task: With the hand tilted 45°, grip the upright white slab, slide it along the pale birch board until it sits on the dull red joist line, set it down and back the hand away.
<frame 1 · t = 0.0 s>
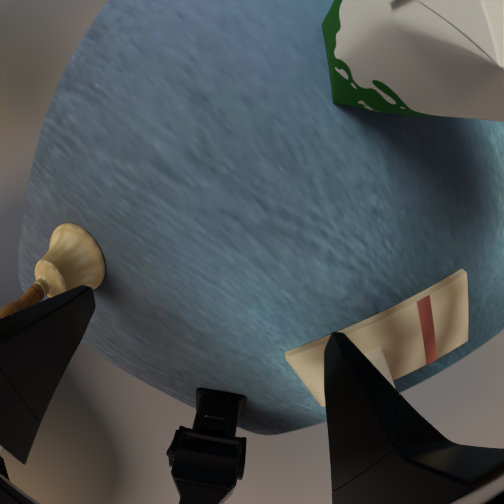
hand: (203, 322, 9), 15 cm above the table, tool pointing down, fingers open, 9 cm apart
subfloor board: (389, 347, 28), on the table
hand bell: (77, 256, 26), on the table
white slab: (360, 366, 28), point 1 cm above the table, touching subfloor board
milk carton: (368, 65, 17), on the table
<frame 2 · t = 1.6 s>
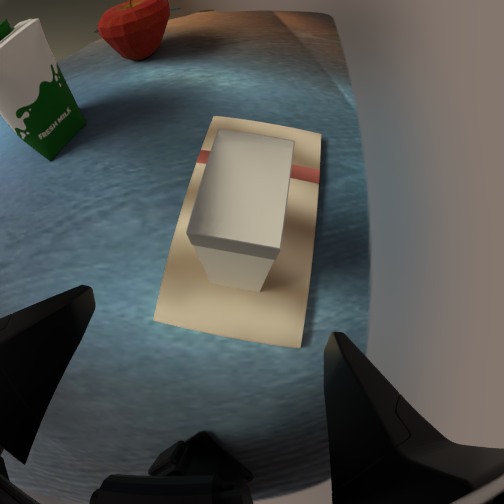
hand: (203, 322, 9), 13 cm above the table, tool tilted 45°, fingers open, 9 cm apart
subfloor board: (249, 214, 25), on the table
apple: (142, 55, 34), on the table
white slab: (241, 252, 23), point 1 cm above the table, touching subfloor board
milk carton: (58, 135, 28), on the table
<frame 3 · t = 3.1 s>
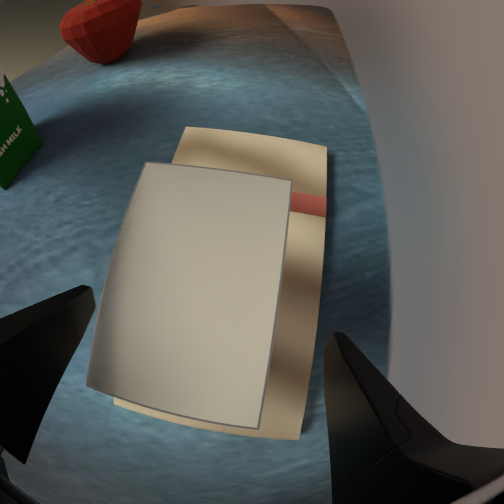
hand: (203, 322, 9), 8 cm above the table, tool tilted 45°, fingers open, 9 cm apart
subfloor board: (231, 264, 19), on the table
apple: (113, 58, 28), on the table
white slab: (219, 322, 16), point 1 cm above the table, touching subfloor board
milk carton: (15, 158, 22), on the table
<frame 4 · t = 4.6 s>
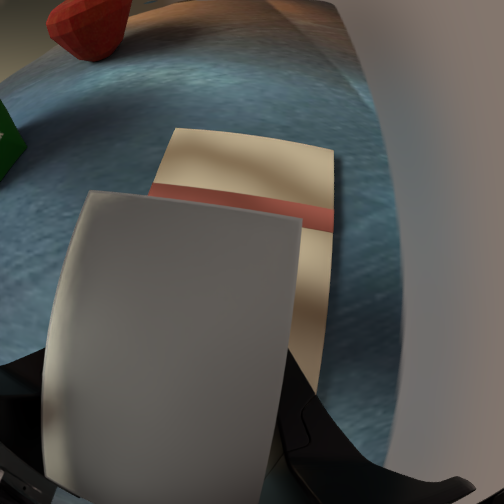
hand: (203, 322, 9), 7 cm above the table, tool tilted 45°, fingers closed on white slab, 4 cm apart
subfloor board: (224, 287, 16), on the table
apple: (103, 55, 25), on the table
white slab: (211, 355, 14), point 1 cm above the table, touching gripper, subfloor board
milk carton: (0, 163, 19), on the table
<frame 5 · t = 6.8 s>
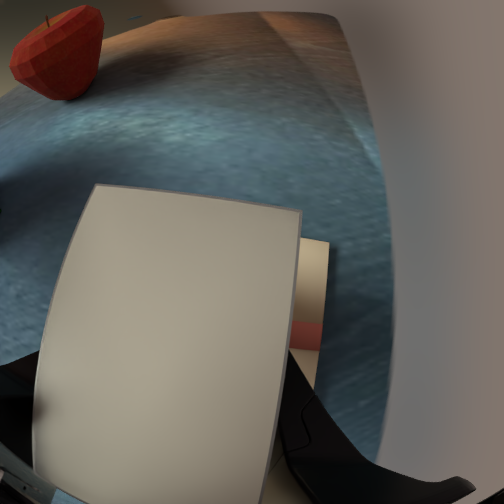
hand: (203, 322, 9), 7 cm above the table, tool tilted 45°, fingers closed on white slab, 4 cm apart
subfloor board: (206, 402, 15), on the table
apple: (77, 91, 24), on the table
white slab: (209, 366, 14), point 2 cm above the table, touching gripper
when the fingers open (7 cm above the table, at t = 9.2 s): white slab stays where it is, resting on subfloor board.
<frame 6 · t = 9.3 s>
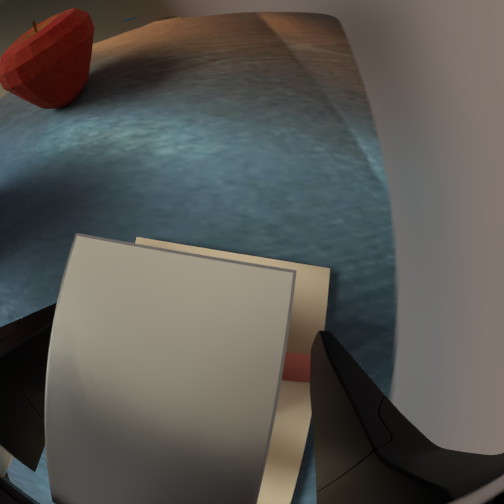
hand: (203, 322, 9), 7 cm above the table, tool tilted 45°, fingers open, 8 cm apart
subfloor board: (201, 431, 14), on the table
apple: (68, 98, 23), on the table
white slab: (209, 368, 14), point 1 cm above the table, touching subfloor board
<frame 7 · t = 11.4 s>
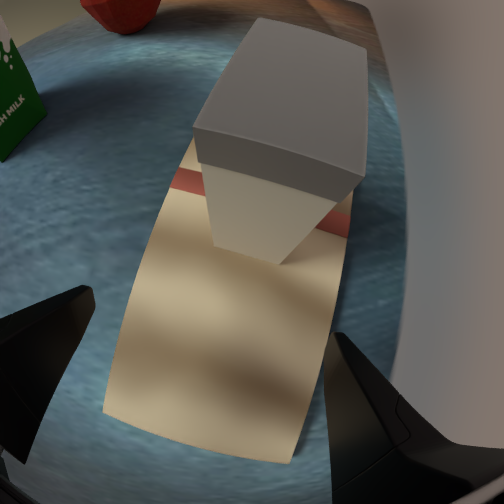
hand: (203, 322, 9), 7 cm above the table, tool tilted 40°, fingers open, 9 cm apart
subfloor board: (240, 278, 17), on the table
apple: (132, 29, 24), on the table
white slab: (259, 210, 17), point 1 cm above the table, touching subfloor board
milk carton: (16, 127, 19), on the table
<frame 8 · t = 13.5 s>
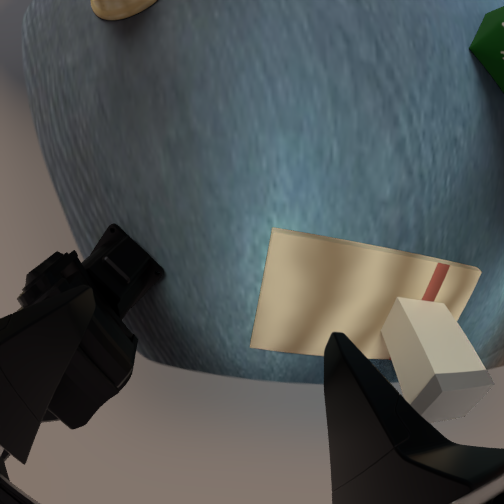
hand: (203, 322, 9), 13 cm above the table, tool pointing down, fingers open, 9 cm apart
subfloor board: (374, 306, 24), on the table
white slab: (413, 317, 23), point 1 cm above the table, touching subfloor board
milk carton: (498, 57, 12), on the table
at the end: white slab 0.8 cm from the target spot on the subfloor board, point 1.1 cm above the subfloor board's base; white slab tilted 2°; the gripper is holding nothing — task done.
